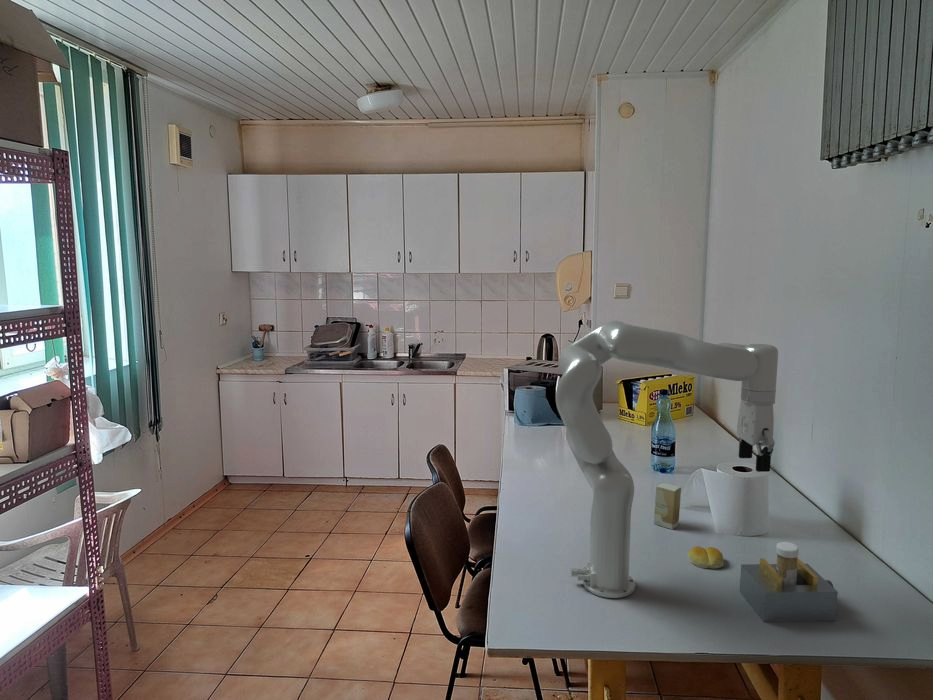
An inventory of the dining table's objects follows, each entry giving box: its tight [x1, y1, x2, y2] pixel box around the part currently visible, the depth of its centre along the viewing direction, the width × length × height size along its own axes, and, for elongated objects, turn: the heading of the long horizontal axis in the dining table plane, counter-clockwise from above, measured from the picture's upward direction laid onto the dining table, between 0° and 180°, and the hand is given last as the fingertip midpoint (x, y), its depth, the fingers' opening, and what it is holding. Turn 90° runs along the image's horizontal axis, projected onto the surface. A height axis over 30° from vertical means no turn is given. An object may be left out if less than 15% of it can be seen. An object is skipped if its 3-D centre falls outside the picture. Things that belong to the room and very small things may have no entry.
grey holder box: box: [739, 557, 839, 623], centre depth 152 cm, size 18×13×10 cm
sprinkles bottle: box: [775, 541, 799, 586], centre depth 151 cm, size 5×5×14 cm
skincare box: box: [653, 482, 682, 530], centre depth 196 cm, size 6×4×12 cm
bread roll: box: [687, 545, 725, 570], centre depth 174 cm, size 8×9×4 cm
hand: (753, 464), depth 160 cm, fingers open, 9 cm apart
